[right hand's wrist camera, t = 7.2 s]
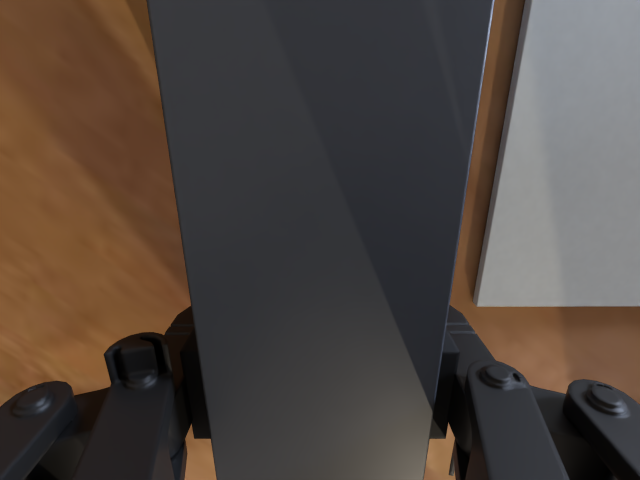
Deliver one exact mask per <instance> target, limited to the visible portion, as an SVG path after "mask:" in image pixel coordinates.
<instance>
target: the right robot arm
mask: <svg viewBox="0 0 640 480" xmlns="http://www.w3.org/2000/svg"><path fill="white" fill-rule="evenodd" d="M104 357H105V361H106V365H107V369H108V372H109V376H110V380H111V386H110V387H108V388H105V389H101V390H97V391H92V392H88V393H83V394H79V395H75V396H74V394H73V390H72V387H71V386H70V385H69V384H68V383H66V382H61V381H52V382H44V383H41V384H38V385H35V386H32V387H29V388H28V389H26V390H24V391H22V392H20V393H18V394H16V395H15V396H13V397H12V398H11V399H9V400H8V401H7V402H5V403H4V404H3V405H2V406H1V407H0V480H184V478H185V469H186V460H187V447H186V441H185V438H186V435H187V433H188V430H189V428H190V426H191V423H192V428H193V434H194V439H211V436H210V430H209V423H208V416H207V409H206V402H205V395H204V389H203V382H202V375H201V368H200V361H199V354H198V348H197V341H196V334H195V327H194V320H193V313H192V307H191V306H190V307H188V308H187V309H186V310H184V311H183V312H181V313H180V314H178V315H177V317H176V318H175V320H174V321H173V322H172V324H171V327H169V328H168V329H167V331H166V332H165V335H162V334H159V333H155V332H145V333H139V334H134V335H130V336H128V337H126V338H123V339H121V340H119V341H117V342H116V343H115V344H113V345H112V346H110V347H109V348H108V350H107V351H106V352H105V353H104ZM448 422H449V424H450V427H451V429H452V432H453V434H454V436H455V441H454V447H453V452H452V458H451V463H450V470H449V475H451V476H454V471H455V477H456V480H640V405H639V404H638V403H637V402H636V401H634V400H633V399H632V398H630V397H629V396H628V395H626V394H625V393H624V392H622V391H620V390H618V389H616V388H614V387H612V386H610V385H607V384H604V383H601V382H598V381H593V380H585V379H582V380H575V381H573V382H572V383H571V384H570V385H569V386H568V389H567V393H566V394H563V393H559V392H554V391H550V390H545V389H541V388H537V387H534V386H530V385H529V383H528V382H527V380H526V379H525V377H524V376H523V375H522V374H521V373H519V372H518V371H517V370H516V369H514V368H513V367H511V366H508V365H506V364H504V363H502V362H498V361H496V360H495V359H494V358H493V356H492V355H491V353H490V352H489V351H488V349H487V348H486V346H485V345H484V344H483V342H482V341H481V339H480V338H479V337H478V335H477V334H475V331H474V330H473V328H472V327H471V326H470V325H469V323H468V321H467V320H466V319H465V317H464V316H463V314H462V313H460V312H459V311H457V310H456V309H455V308H453V307H452V306H450V305H449V311H448V317H447V324H446V331H445V338H444V344H443V351H442V358H441V365H440V371H439V378H438V385H437V392H436V398H435V405H434V412H433V419H432V425H431V432H430V439H446V433H447V427H448Z"/></svg>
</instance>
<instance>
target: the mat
mask: <svg viewBox="0 0 640 480" xmlns="http://www.w3.org/2000/svg"><path fill="white" fill-rule="evenodd" d="M473 303H474V304H475V305H476V306H477V307H583V306H640V0H525V5H524V11H523V16H522V22H521V28H520V34H519V39H518V45H517V51H516V57H515V62H514V68H513V74H512V79H511V85H510V91H509V97H508V102H507V108H506V114H505V120H504V125H503V131H502V137H501V143H500V148H499V154H498V160H497V166H496V171H495V177H494V183H493V189H492V194H491V200H490V206H489V212H488V217H487V223H486V229H485V235H484V240H483V246H482V252H481V258H480V263H479V269H478V275H477V281H476V286H475V292H474V298H473Z"/></svg>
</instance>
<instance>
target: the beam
mask: <svg viewBox="0 0 640 480" xmlns="http://www.w3.org/2000/svg"><path fill="white" fill-rule="evenodd" d="M147 6H148V13H149V20H150V27H151V33H152V40H153V47H154V54H155V61H156V68H157V74H158V81H159V88H160V95H161V102H162V109H163V115H164V122H165V129H166V136H167V143H168V150H169V156H170V163H171V170H172V177H173V184H174V191H175V197H176V204H177V211H178V218H179V225H180V231H181V238H182V245H183V252H184V259H185V266H186V272H187V279H188V286H189V293H190V300H191V307H192V313H193V320H194V327H195V334H196V341H197V348H198V354H199V361H200V368H201V375H202V382H203V389H204V395H205V402H206V409H207V416H208V423H209V430H210V436H211V443H212V450H213V457H214V464H215V471H216V477H217V480H423V479H424V473H425V466H426V459H427V452H428V446H429V439H430V432H431V425H432V419H433V412H434V405H435V398H436V392H437V385H438V378H439V371H440V365H441V358H442V351H443V344H444V338H445V331H446V324H447V317H448V311H449V304H450V297H451V290H452V284H453V277H454V270H455V263H456V257H457V250H458V243H459V236H460V230H461V223H462V216H463V209H464V203H465V196H466V189H467V182H468V176H469V169H470V162H471V155H472V149H473V142H474V135H475V128H476V122H477V115H478V108H479V101H480V95H481V88H482V81H483V74H484V68H485V61H486V54H487V47H488V41H489V34H490V27H491V20H492V14H493V7H494V0H147Z"/></svg>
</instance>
